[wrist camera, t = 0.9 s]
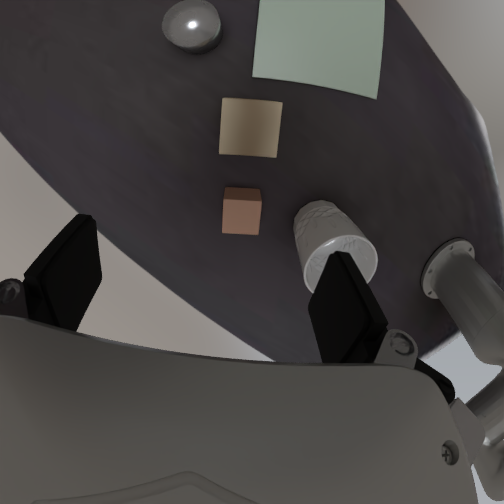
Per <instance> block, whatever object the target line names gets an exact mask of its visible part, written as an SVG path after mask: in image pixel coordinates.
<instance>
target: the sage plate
mask: <svg viewBox="0 0 504 504" xmlns="http://www.w3.org/2000/svg"><path fill="white" fill-rule="evenodd" d="M384 8H385V0H260V3H259V13H258V22H257V32H256V41H255V51H254V61H253V72H252V77H254V78H265V79H274V80H282V81H290V82H297V83H303V84H309V85H315V86H320V87H325V88H330V89H335V90H340V91H344V92H348V93H352V94H357V95H360V96H364V97H368V98H372V99H377V92H378V84H379V76H380V67H381V57H382V45H383V31H384Z"/></svg>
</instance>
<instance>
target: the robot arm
mask: <svg viewBox="0 0 504 504" xmlns="http://www.w3.org/2000/svg"><path fill="white" fill-rule="evenodd" d="M474 256H475V254H474V249H473V246H472V245H471V244H470V243H469V242H468V241H467V240H465V239H463V238H457V239H453V240H450V241H448V242H447V243H445V244H443V245H442V246H441V247H440V248H439V249H438V250H437V251H436V252H435V253H434V254H433V255H432V256H431V258H430V259H429V261H428V262H427V264H426V266H425V268H424V270H423V273H422V278H421V287H422V290H423V291H424V293H425V294H426V295H427V296H428V297H430V298H433V299H437V298H439V299H440V301H441V302H442V304H443V305H444V307H445V308H446V310H447V311H448V313H449V314H450V316H451V317H452V319H453V320H454V322H455V323H456V325H457V326H458V328H459V329H460V331H461V333H462V334H463V336H464V337H465V339H466V341H467V342H468V344H469V346H470V347H471V349H472V350H473V352H474V354H475V355H476V357H477V358H478V359H479V360H480V361H482V362H484V363H487V364H492V365H500V366H502V370H501V372H500V373H499V374H498V375H497V376H496V377H495V378H494V379H493V380H492V381H491V382H490V383H489V384H488V385H487V386H486V387H484V388H483V389H482V390H481V391H480V392H479V393H478V394H476V395H475V396H474V397H472V398H471V399H470V400H469V401H468V402H467V403H466V404H464V403H463V402H462V401H461V400H460V399H459V398H457V399H455V390H454V387H453V385H452V382H451V381H450V380H449V379H448V378H446V377H445V376H444V375H442V374H441V373H439V372H438V371H436V370H435V369H433V368H432V367H430V366H429V365H427V364H426V363H424V362H423V361H421V360H420V359H418V358H417V354H418V348H417V345H416V343H415V341H414V340H413V339H412V338H411V336H410V335H408V334H407V333H405V332H403V331H401V330H397V329H392V330H389V331H388V330H387V328H386V326H387V325H388V321H387V319H386V317H385V315H384V313H383V312H382V310H381V308H380V306H379V304H378V302H377V300H376V298H375V297H374V295H373V293H372V291H371V289H370V287H369V286H368V284H367V282H366V280H365V279H364V277H363V275H362V273H361V272H360V270H359V268H358V266H357V265H356V263H355V261H354V260H353V258H352V256H351V254H350V253H348V252H342V251H335V252H334V253H333V254H332V253H331V254H330V255H329V257H328V259H327V262H326V264H325V266H324V269H323V271H322V274H321V276H320V279H319V281H318V283H317V286H316V288H315V290H314V293H313V295H312V297H311V299H310V302H309V305H308V311H309V315H310V318H311V322H312V325H313V329H314V333H315V336H316V340H317V344H318V347H319V351H320V355H321V359H322V362H323V363H293V362H270V361H253V360H242V359H230V358H220V357H211V356H202V355H195V354H187V353H180V352H173V351H167V350H160V349H154V348H149V347H143V346H138V345H132V344H127V343H122V342H117V341H113V340H108V339H103V338H99V337H95V336H91V335H87V334H83V333H78V332H76V331H77V329H78V327H79V324H80V322H81V320H82V318H83V316H84V314H85V312H86V310H87V308H88V306H89V304H90V302H91V300H92V298H93V296H94V294H95V293H96V291H97V289H98V287H99V285H100V283H101V280H102V271H101V264H100V256H99V248H98V239H97V228H96V221H95V220H94V219H93V218H92V216H91V215H85V214H77V215H76V216H75V217H74V218H73V219H72V220H71V221H70V222H69V223H68V224H67V225H66V226H65V227H64V228H63V229H62V230H61V232H60V233H59V234H58V235H57V236H56V237H55V238H54V239H53V240H52V241H51V242H50V244H49V245H48V246H47V247H46V248H45V249H44V250H43V251H42V253H41V254H40V255H39V256H38V258H37V259H36V260H35V261H34V262H33V263H32V264H31V266H30V267H29V268H28V269H27V271H26V272H25V273H24V277H25V279H24V281H23V282H21V281H20V280H18V279H13V278H10V279H6V280H4V281H1V282H0V504H478V499H477V493H476V488H475V483H474V479H473V475H472V471H471V465H472V464H474V467H475V469H476V471H477V474H478V476H479V479H480V481H481V483H482V486H483V488H484V490H485V492H486V494H487V495H488V497H490V498H491V499H492V500H495V501H502V500H504V440H503V439H504V292H503V291H502V290H501V288H500V287H499V286H498V285H497V284H496V282H495V281H494V280H493V279H492V278H491V277H490V276H489V275H488V273H487V272H486V271H485V270H484V269H483V268H482V267H481V266H480V265H479V264H478V263H477V262H476V261H475V259H474Z"/></svg>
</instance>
